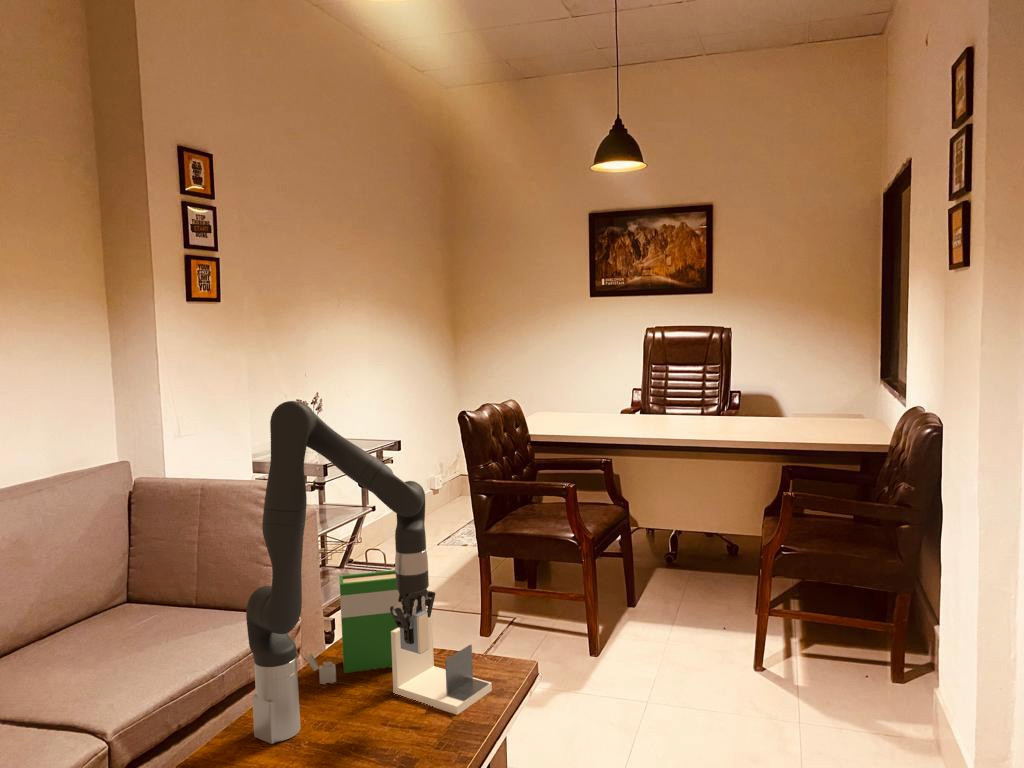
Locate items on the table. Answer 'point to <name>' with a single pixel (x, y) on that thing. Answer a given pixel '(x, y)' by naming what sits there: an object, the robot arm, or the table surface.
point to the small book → (417, 634)
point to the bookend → (461, 675)
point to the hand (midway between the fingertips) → (414, 640)
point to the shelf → (425, 677)
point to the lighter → (323, 670)
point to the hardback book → (367, 619)
